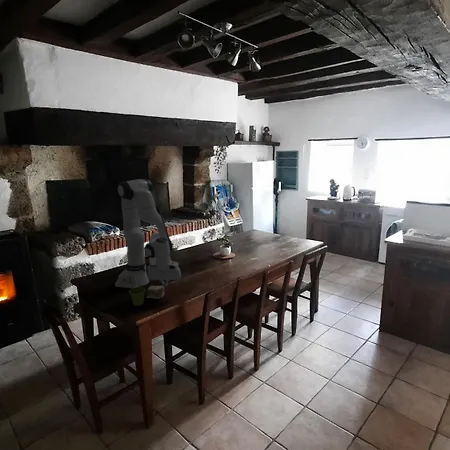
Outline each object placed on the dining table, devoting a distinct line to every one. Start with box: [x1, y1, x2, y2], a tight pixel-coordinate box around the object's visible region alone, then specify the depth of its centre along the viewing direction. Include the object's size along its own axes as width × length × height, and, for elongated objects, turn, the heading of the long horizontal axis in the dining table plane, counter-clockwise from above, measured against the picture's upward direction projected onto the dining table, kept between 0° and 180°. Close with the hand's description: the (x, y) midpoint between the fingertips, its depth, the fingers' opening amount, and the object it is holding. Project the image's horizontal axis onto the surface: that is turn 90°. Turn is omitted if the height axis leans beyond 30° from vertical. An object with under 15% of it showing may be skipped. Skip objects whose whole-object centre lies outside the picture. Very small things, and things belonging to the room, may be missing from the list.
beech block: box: [147, 285, 166, 298], centre depth 203 cm, size 5×5×9 cm
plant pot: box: [128, 286, 146, 307], centre depth 193 cm, size 9×9×9 cm
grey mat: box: [145, 295, 162, 300], centre depth 203 cm, size 9×8×1 cm
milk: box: [148, 232, 160, 265], centre depth 254 cm, size 12×12×26 cm
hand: (165, 285), depth 201 cm, fingers closed
